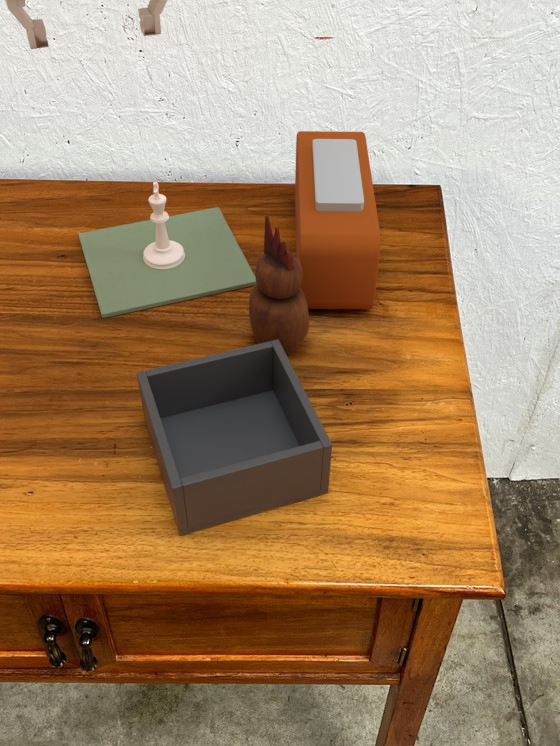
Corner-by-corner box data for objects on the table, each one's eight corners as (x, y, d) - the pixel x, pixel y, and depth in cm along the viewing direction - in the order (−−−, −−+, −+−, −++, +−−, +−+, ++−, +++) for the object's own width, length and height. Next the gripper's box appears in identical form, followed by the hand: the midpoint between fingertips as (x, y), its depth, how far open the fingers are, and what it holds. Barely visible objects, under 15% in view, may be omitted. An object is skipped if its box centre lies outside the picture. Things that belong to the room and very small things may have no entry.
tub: (179, 536, 66) (172, 488, 61) (145, 421, 75) (136, 372, 70) (328, 493, 69) (332, 444, 64) (278, 388, 78) (278, 338, 73)
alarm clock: (372, 317, 86) (383, 231, 78) (297, 316, 86) (300, 231, 78) (357, 196, 103) (365, 116, 94) (294, 196, 102) (296, 115, 94)
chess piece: (186, 244, 94) (179, 171, 87) (184, 269, 90) (176, 195, 83) (145, 244, 94) (134, 171, 87) (141, 270, 90) (130, 195, 83)
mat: (102, 318, 85) (101, 314, 85) (78, 237, 96) (77, 233, 95) (257, 285, 90) (257, 281, 89) (218, 210, 100) (218, 206, 100)
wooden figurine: (243, 328, 84) (239, 210, 74) (294, 317, 86) (297, 201, 75) (261, 370, 80) (259, 252, 69) (314, 358, 81) (320, 240, 70)
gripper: (-85, -137, 51) (-30, 70, 61) (214, -154, 56) (221, 39, 66) (-88, -158, 55) (-36, 39, 65) (192, -172, 60) (201, 13, 70)
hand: (95, 39), depth 65 cm, fingers open, 8 cm apart
